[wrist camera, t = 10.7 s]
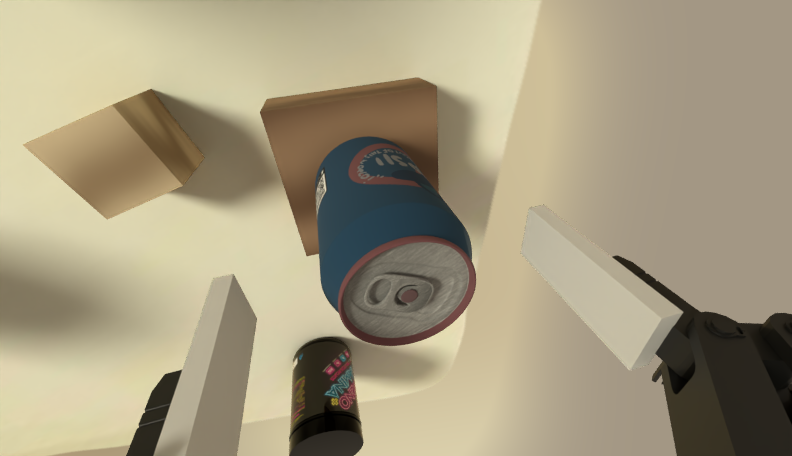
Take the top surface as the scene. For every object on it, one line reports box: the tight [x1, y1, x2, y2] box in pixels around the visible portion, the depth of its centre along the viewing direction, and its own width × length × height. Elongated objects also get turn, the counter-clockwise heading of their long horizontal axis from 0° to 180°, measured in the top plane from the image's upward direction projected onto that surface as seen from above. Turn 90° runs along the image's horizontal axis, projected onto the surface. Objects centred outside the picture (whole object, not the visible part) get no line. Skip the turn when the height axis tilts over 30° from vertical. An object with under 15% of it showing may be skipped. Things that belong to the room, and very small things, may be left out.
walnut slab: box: [260, 78, 438, 256], centre depth 24 cm, size 11×11×4 cm
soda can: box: [315, 136, 476, 346], centre depth 17 cm, size 7×7×12 cm
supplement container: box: [289, 338, 363, 456], centre depth 33 cm, size 7×7×10 cm
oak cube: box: [23, 89, 205, 219], centre depth 19 cm, size 5×5×5 cm
